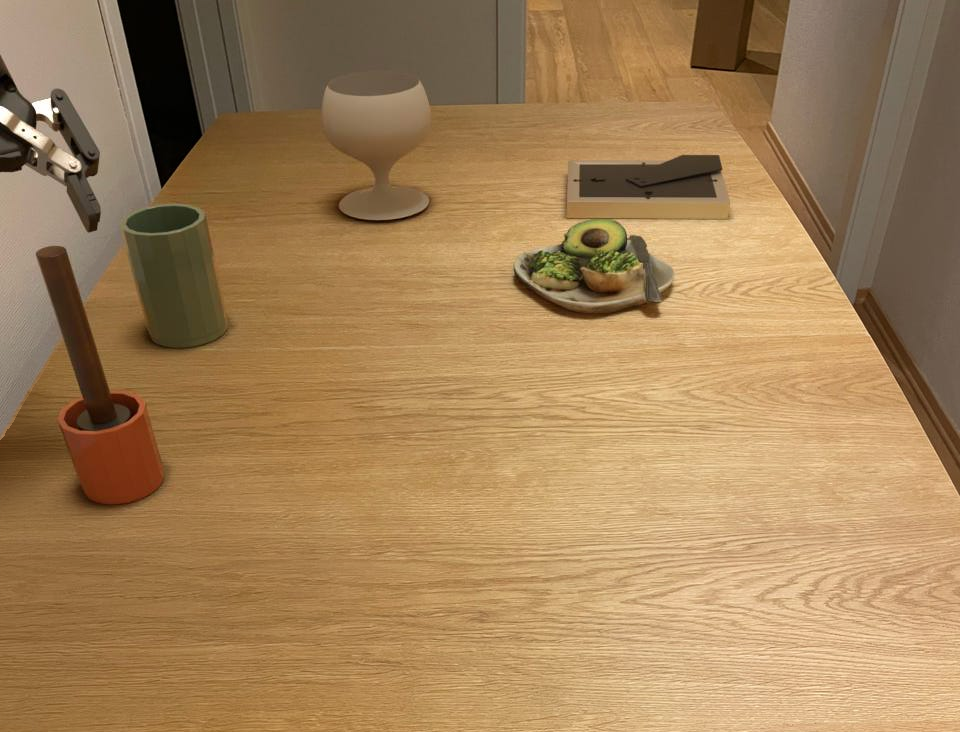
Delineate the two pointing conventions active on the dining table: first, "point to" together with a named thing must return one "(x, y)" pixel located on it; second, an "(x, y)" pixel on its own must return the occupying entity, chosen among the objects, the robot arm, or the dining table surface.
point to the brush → (79, 342)
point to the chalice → (378, 136)
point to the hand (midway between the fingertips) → (39, 241)
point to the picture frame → (648, 189)
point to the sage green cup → (175, 274)
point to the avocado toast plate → (595, 270)
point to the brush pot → (114, 453)
